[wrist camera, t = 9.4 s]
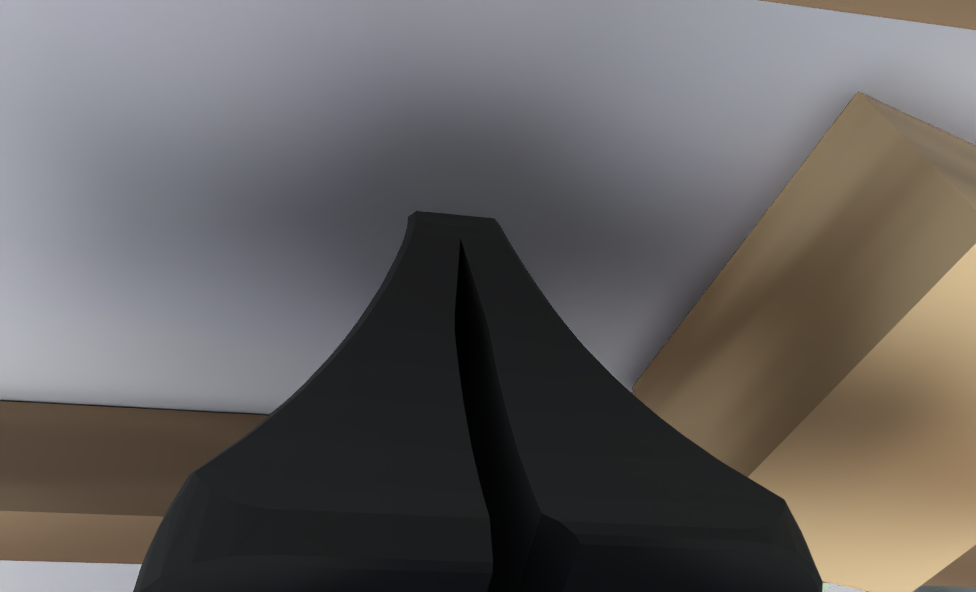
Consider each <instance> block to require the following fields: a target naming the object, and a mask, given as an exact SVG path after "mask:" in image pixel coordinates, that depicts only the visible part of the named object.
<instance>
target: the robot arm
mask: <svg viewBox="0 0 976 592" xmlns="http://www.w3.org/2000/svg"><path fill="white" fill-rule="evenodd" d="M822 589H823V581H822V579H821V576H820V574H819V572H818V569H817V567H816V565H815V562H814V560H813V558H812V555H811V553H810V550H809V548H808V545H807V543H806V541H805V538H804V536H803V534H802V531H801V530H800V528H799V526H798V524H797V522H796V520H795V518H794V516H793V515H792V513H791V511H790V509H789V507H788V505H787V503H786V501H785V499H783V498H781V497H780V496H778V495H776V494H775V493H773V492H771V491H770V490H768V489H766V488H765V487H763V486H761V485H760V484H758V483H756V482H755V481H753V480H751V479H750V478H748V477H746V476H745V475H743V474H741V473H740V472H738V471H736V470H735V469H733V468H731V467H730V466H728V465H726V464H725V463H723V462H721V461H720V460H718V459H717V458H715V457H714V456H712V455H711V454H710V453H708V452H707V451H705V450H704V449H703V448H701V447H700V446H698V445H697V444H695V443H694V442H693V441H691V440H690V439H688V438H687V437H685V436H684V435H683V434H681V433H680V432H679V431H677V430H676V429H675V428H673V427H672V426H671V425H669V424H668V423H667V422H666V421H664V420H663V419H662V418H660V417H659V416H658V415H657V414H656V413H654V412H653V411H652V410H651V409H650V408H648V407H647V406H646V405H645V404H644V403H643V402H641V401H640V400H639V399H638V398H637V397H635V396H634V395H633V394H632V393H631V392H630V391H628V390H627V389H626V388H625V387H624V386H623V385H622V384H621V383H620V382H619V381H618V380H616V379H615V378H614V377H613V376H612V375H611V374H610V373H609V372H608V371H607V370H606V369H605V368H604V367H603V366H602V365H601V363H600V362H599V361H598V360H597V359H596V358H595V357H594V356H593V355H592V354H591V353H590V352H589V351H588V350H587V349H586V348H585V347H584V346H583V345H582V344H581V342H580V341H579V340H578V339H577V338H576V336H575V335H574V334H573V333H572V332H571V330H570V329H569V328H568V327H567V325H566V324H565V323H564V322H563V320H562V319H561V318H560V317H559V315H558V314H557V313H556V311H555V310H554V309H553V307H552V306H551V305H550V303H549V302H548V300H547V299H546V297H545V296H544V295H543V293H542V292H541V290H540V289H539V288H538V286H537V285H536V283H535V282H534V280H533V279H532V277H531V276H530V274H529V273H528V271H527V270H526V268H525V267H524V265H523V263H522V262H521V260H520V259H519V257H518V256H517V254H516V252H515V251H514V249H513V247H512V246H511V244H510V242H509V240H508V239H507V237H506V235H505V233H504V232H503V230H502V228H501V226H500V225H499V224H498V222H497V221H496V220H495V219H493V218H482V217H472V216H462V215H452V214H442V213H431V212H421V211H416V212H414V213H413V214H412V215H410V216H409V217H408V225H407V230H406V234H405V237H404V240H403V242H402V245H401V247H400V250H399V252H398V254H397V257H396V259H395V261H394V263H393V264H392V266H391V268H390V270H389V272H388V274H387V276H386V278H385V280H384V282H383V283H382V285H381V287H380V289H379V290H378V292H377V293H376V295H375V296H374V298H373V299H372V301H371V302H370V304H369V306H368V307H367V309H366V310H365V312H364V313H363V315H362V316H361V318H360V319H359V321H358V322H357V323H356V325H355V326H354V327H353V329H352V330H351V331H350V333H349V334H348V335H347V337H346V338H345V339H344V340H343V342H342V343H341V344H340V345H339V346H338V348H337V349H336V350H335V351H334V352H333V354H332V355H331V356H330V357H329V358H328V359H327V360H326V361H325V362H324V364H323V365H322V366H321V367H320V368H319V369H318V370H317V371H316V372H315V373H314V374H313V375H312V376H311V377H310V378H309V380H308V381H307V382H306V383H305V384H304V385H303V386H302V387H301V388H299V389H298V390H297V391H296V392H295V393H294V394H293V395H292V396H291V397H290V398H289V399H288V400H287V401H285V402H284V403H283V404H282V405H281V406H280V407H278V408H277V409H276V410H275V411H274V412H272V413H271V414H270V415H269V416H268V417H267V418H265V419H264V420H263V421H262V422H261V423H260V424H258V425H257V426H256V427H255V428H254V429H253V430H251V431H250V432H249V433H247V434H246V435H245V436H244V437H242V438H241V439H239V440H238V441H237V442H235V443H234V444H232V445H231V446H230V447H228V448H227V449H225V450H224V451H222V452H221V453H220V454H218V455H217V456H215V457H214V458H212V459H211V460H210V461H208V462H207V463H205V464H204V465H202V466H201V467H200V468H198V469H197V470H195V471H194V472H192V473H191V474H189V476H188V478H187V479H186V481H185V482H184V484H183V485H182V487H181V489H180V490H179V492H178V494H177V495H176V497H175V499H174V500H173V502H172V503H171V505H170V507H169V509H168V511H167V512H166V514H165V516H164V518H163V520H162V522H161V523H160V525H159V527H158V529H157V531H156V534H155V536H154V538H153V540H152V542H151V544H150V546H149V549H148V551H147V553H146V555H145V558H144V560H143V563H142V566H141V569H140V572H139V575H138V578H137V582H136V585H135V588H134V591H133V592H822Z"/></svg>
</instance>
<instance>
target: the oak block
mask: <svg viewBox="0 0 976 592" xmlns="http://www.w3.org/2000/svg"><path fill="white" fill-rule="evenodd" d="M632 388H633V392H634V395H635V397H637V398H638V399H639V400H640V401H641V402H643V403H644V404H645V405H646V406H647V407H648V408H650V409H651V410H652V411H653V412H654V413H656V414H657V415H658V416H659V417H660V418H662V419H663V420H664V421H666V422H667V423H668V424H669V425H671V426H672V427H673V428H675V429H676V430H677V431H679V432H680V433H681V434H683V435H684V436H685V437H687V438H688V439H690V440H691V441H693V442H694V443H695V444H697V445H698V446H700V447H701V448H703V449H704V450H705V451H707V452H708V453H710V454H711V455H712V456H714V457H715V458H717V459H718V460H720V461H721V462H723V463H725V464H726V465H728V466H730V467H731V468H733V469H735V470H736V471H738V472H740V473H741V474H743V475H745V476H746V477H748V478H750V479H751V480H753V481H755V482H756V483H758V484H760V485H761V486H763V487H765V488H766V489H768V490H770V491H771V492H773V493H775V494H776V495H778V496H780V497H781V498H783V499H785V501H786V503H787V505H788V507H789V509H790V511H791V513H792V515H793V516H794V518H795V520H796V522H797V524H798V526H799V528H800V530H801V531H802V534H803V536H804V538H805V541H806V543H807V545H808V548H809V550H810V553H811V555H812V558H813V560H814V562H815V565H816V567H817V569H818V572H819V574H820V576H821V579H822V581H824V582H828V583H833V584H837V585H842V586H846V587H851V588H855V589H860V590H864V591H869V592H913V591H914V590H915V589H917V588H918V587H919V586H921V585H922V584H924V583H925V582H926V581H928V580H929V579H930V578H932V577H933V576H934V575H936V574H937V573H938V572H940V571H941V570H942V569H944V568H945V567H946V566H948V565H949V564H950V563H952V562H953V561H954V560H956V559H957V558H958V557H960V556H961V555H963V554H964V553H965V552H967V551H968V550H969V549H971V548H972V547H973V546H975V545H976V146H975V145H972V144H970V143H968V142H966V141H964V140H962V139H959V138H957V137H955V136H953V135H951V134H949V133H947V132H944V131H942V130H940V129H938V128H936V127H934V126H931V125H929V124H927V123H925V122H923V121H921V120H918V119H916V118H914V117H912V116H910V115H908V114H905V113H903V112H901V111H899V110H897V109H895V108H892V107H890V106H888V105H886V104H884V103H882V102H879V101H877V100H875V99H873V98H871V97H869V96H866V95H864V94H862V93H860V92H857V93H856V95H855V96H854V97H853V98H852V100H851V101H850V102H849V104H848V105H847V106H846V108H845V109H844V110H843V112H842V113H841V114H840V116H839V117H838V118H837V119H836V121H835V122H834V123H833V125H832V126H831V127H830V129H829V130H828V131H827V133H826V134H825V135H824V136H823V138H822V139H821V140H820V142H819V143H818V144H817V146H816V147H815V148H814V150H813V151H812V152H811V154H810V155H809V156H808V157H807V159H806V160H805V161H804V163H803V164H802V165H801V167H800V168H799V169H798V171H797V172H796V173H795V175H794V176H793V177H792V178H791V180H790V181H789V182H788V184H787V185H786V186H785V188H784V189H783V190H782V192H781V193H780V194H779V196H778V197H777V198H776V199H775V201H774V202H773V203H772V205H771V206H770V207H769V209H768V210H767V211H766V213H765V214H764V215H763V217H762V218H761V219H760V220H759V222H758V223H757V224H756V226H755V227H754V228H753V230H752V231H751V232H750V234H749V235H748V236H747V238H746V239H745V240H744V241H743V243H742V244H741V245H740V247H739V248H738V249H737V251H736V252H735V253H734V255H733V256H732V257H731V258H730V260H729V261H728V262H727V264H726V265H725V266H724V268H723V269H722V270H721V272H720V273H719V274H718V276H717V277H716V278H715V279H714V281H713V282H712V283H711V285H710V286H709V287H708V289H707V290H706V291H705V293H704V294H703V295H702V297H701V298H700V299H699V300H698V302H697V303H696V304H695V306H694V307H693V308H692V310H691V311H690V312H689V314H688V315H687V316H686V318H685V319H684V320H683V321H682V323H681V324H680V325H679V327H678V328H677V329H676V331H675V332H674V333H673V335H672V336H671V337H670V339H669V340H668V341H667V342H666V344H665V345H664V346H663V348H662V349H661V350H660V352H659V353H658V354H657V356H656V357H655V358H654V359H653V361H652V362H651V363H650V365H649V366H648V367H647V369H646V370H645V371H644V373H643V374H642V375H641V377H640V378H639V379H638V380H637V382H636V383H635V384H634V386H633V387H632Z"/></svg>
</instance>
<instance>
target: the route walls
mask: <svg viewBox="0 0 976 592" xmlns="http://www.w3.org/2000/svg"><path fill="white" fill-rule="evenodd" d="M761 1H768V2H776V3H783V4H790V5H798V6H805V7H812V8H819V9H827V10H834V11H841V12H848V13H856V14H863V15H870V16H878V17H885V18H892V19H899V20H907V21H914V22H921V23H928V24H936V25H943V26H950V27H958V28H965V29H972V30H976V0H761ZM267 417H268V415H249V414H230V413H212V412H193V411H175V410H156V409H138V408H119V407H101V406H82V405H64V404H45V403H27V402H8V401H0V560H13V561H49V562H86V563H122V564H142V563H143V560H144V558H145V555H146V553H147V551H148V549H149V546H150V544H151V542H152V540H153V538H154V536H155V534H156V531H157V529H158V527H159V525H160V523H161V522H162V520H163V518H164V516H165V514H166V512H167V511H168V509H169V507H170V505H171V503H172V502H173V500H174V499H175V497H176V495H177V494H178V492H179V490H180V489H181V487H182V485H183V484H184V482H185V481H186V479H187V478H188V476H189V474H191V473H192V472H194V471H195V470H197V469H198V468H200V467H201V466H202V465H204V464H205V463H207V462H208V461H210V460H211V459H212V458H214V457H215V456H217V455H218V454H220V453H221V452H222V451H224V450H225V449H227V448H228V447H230V446H231V445H232V444H234V443H235V442H237V441H238V440H239V439H241V438H242V437H244V436H245V435H246V434H247V433H249V432H250V431H251V430H253V429H254V428H255V427H256V426H257V425H258V424H260V423H261V422H262V421H263V420H264V419H265V418H267ZM823 583H828V582H824V581H823ZM921 586H953V587H976V545H975V546H973V547H972V548H971V549H969V550H968V551H967V552H965V553H964V554H963V555H961V556H960V557H958V558H957V559H956V560H954V561H953V562H952V563H950V564H949V565H948V566H946V567H945V568H944V569H942V570H941V571H940V572H938V573H937V574H936V575H934V576H933V577H932V578H930V579H929V580H928V581H926V582H925V583H924V584H922V585H921Z"/></svg>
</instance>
